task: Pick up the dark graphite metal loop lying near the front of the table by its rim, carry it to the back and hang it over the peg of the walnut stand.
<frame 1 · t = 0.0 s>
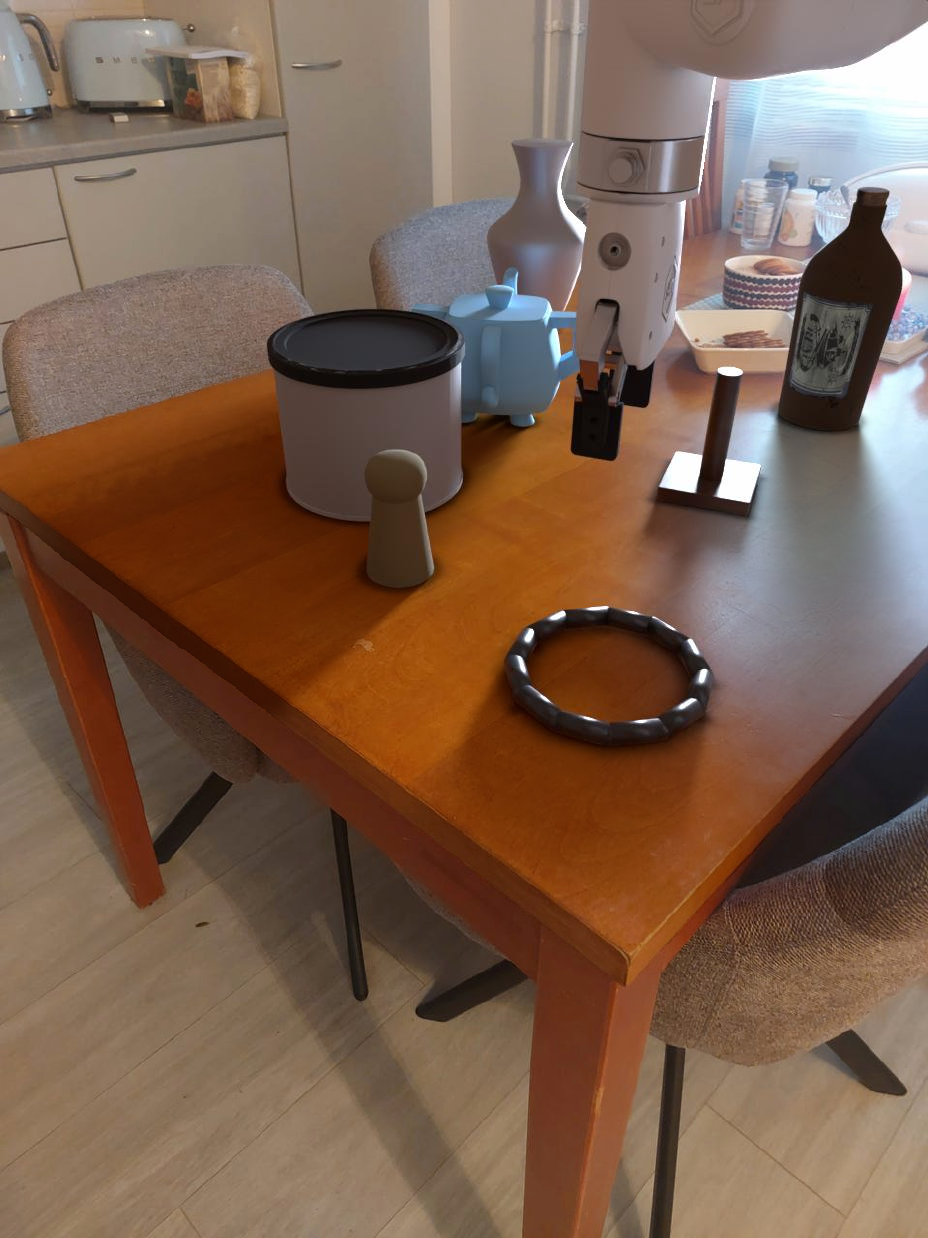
hand: (611, 428, 64), 17 cm above the table, tool pointing down, fingers open, 9 cm apart
container: (375, 480, 94), on the table
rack: (708, 488, 92), on the table
olive oil: (816, 417, 108), on the table
vase: (533, 330, 134), on the table
ring: (607, 670, 67), point 1 cm above the table
wooden peg doll: (400, 570, 80), on the table
teapot: (498, 404, 111), on the table
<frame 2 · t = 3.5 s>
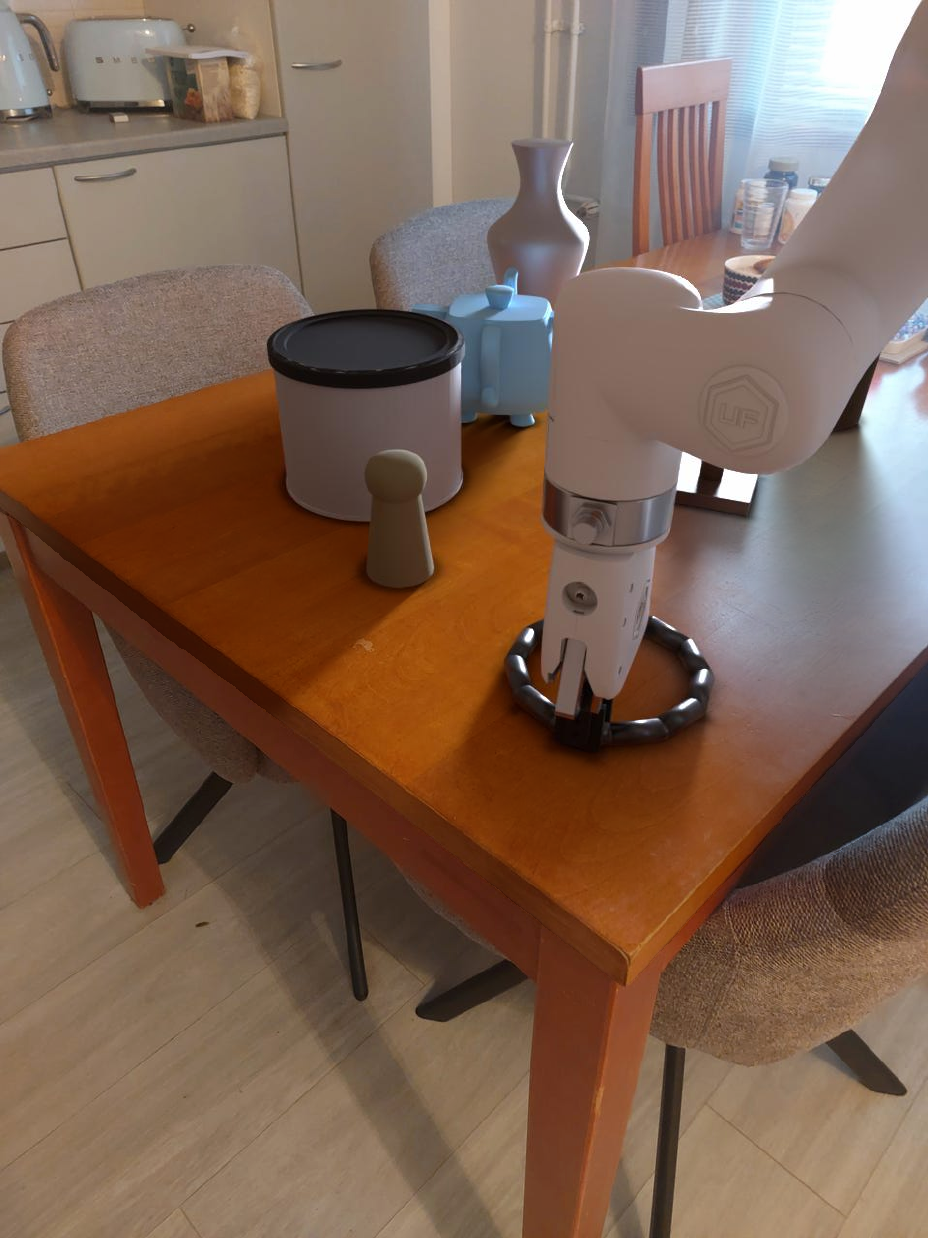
hand: (582, 732, 62), 0 cm above the table, tool pointing down, fingers closed on ring, 1 cm apart
ring: (607, 670, 67), point 1 cm above the table, touching gripper
everything else where it was.
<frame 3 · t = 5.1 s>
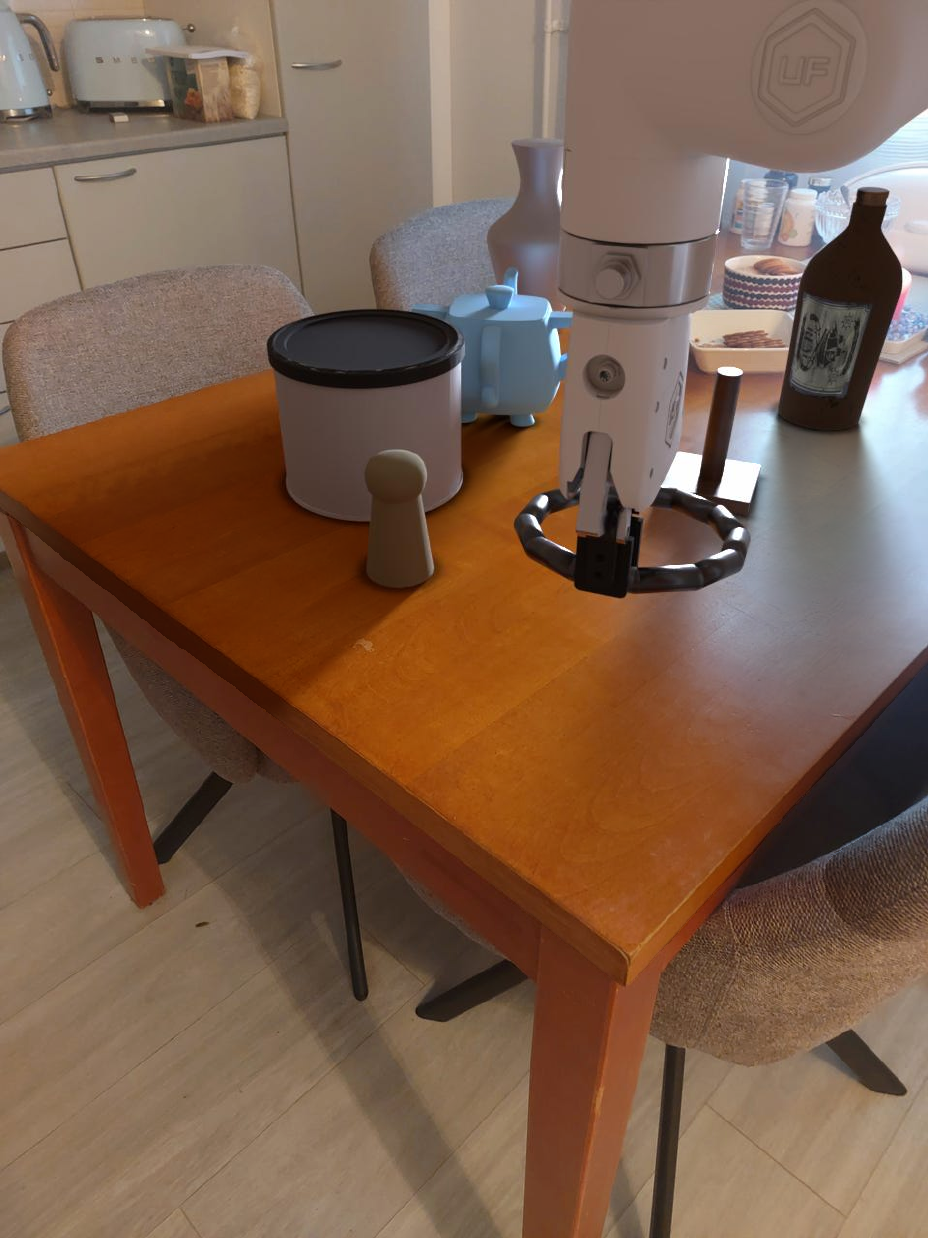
hand: (605, 580, 54), 13 cm above the table, tool pointing down, fingers closed on ring, 1 cm apart
ring: (630, 531, 60), point 13 cm above the table, tilted 5°, touching gripper
everything else where it was.
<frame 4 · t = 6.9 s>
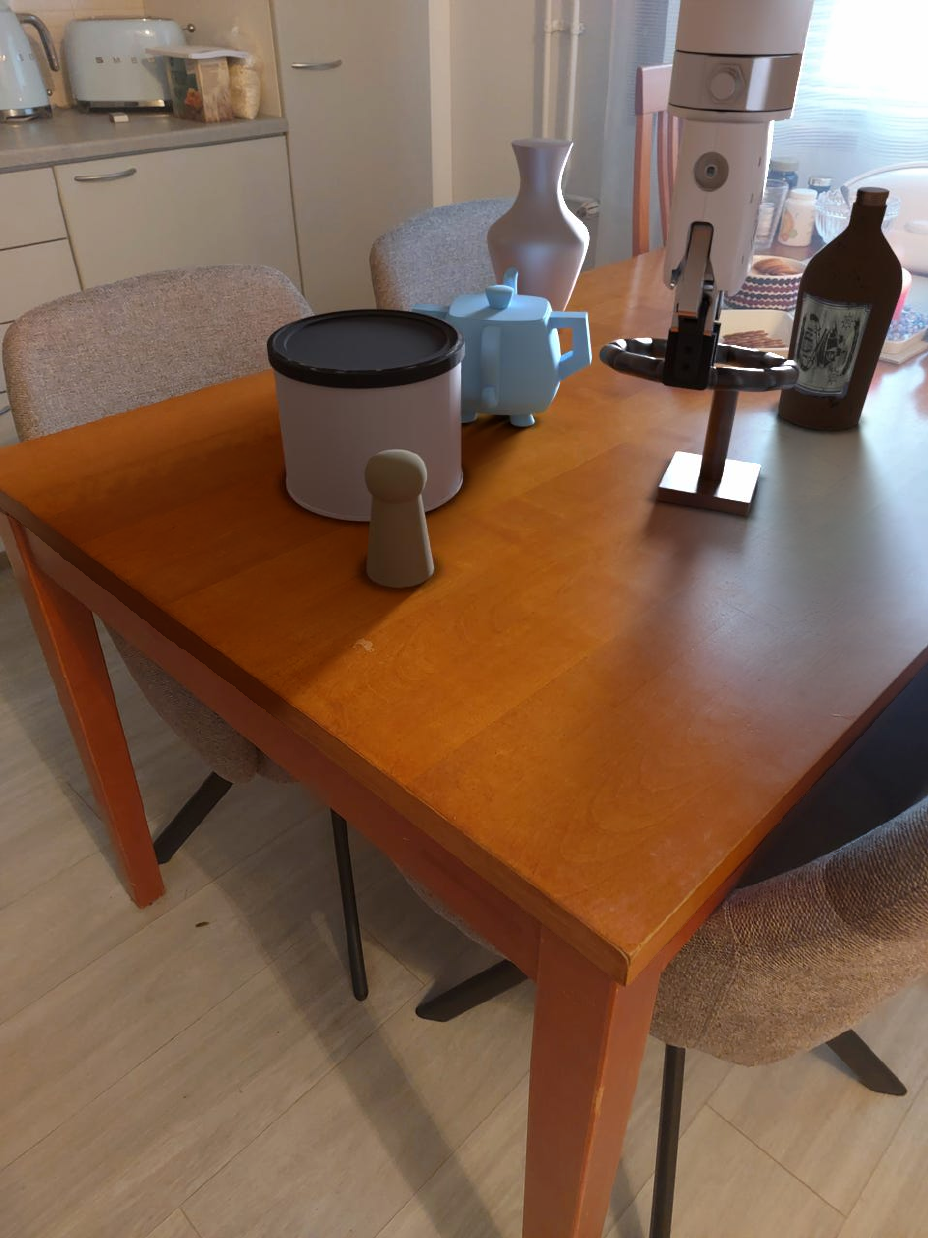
hand: (687, 379, 65), 19 cm above the table, tool pointing down, fingers closed on ring, 1 cm apart
ring: (698, 362, 70), point 18 cm above the table, tilted 11°, touching gripper
everything else where it was.
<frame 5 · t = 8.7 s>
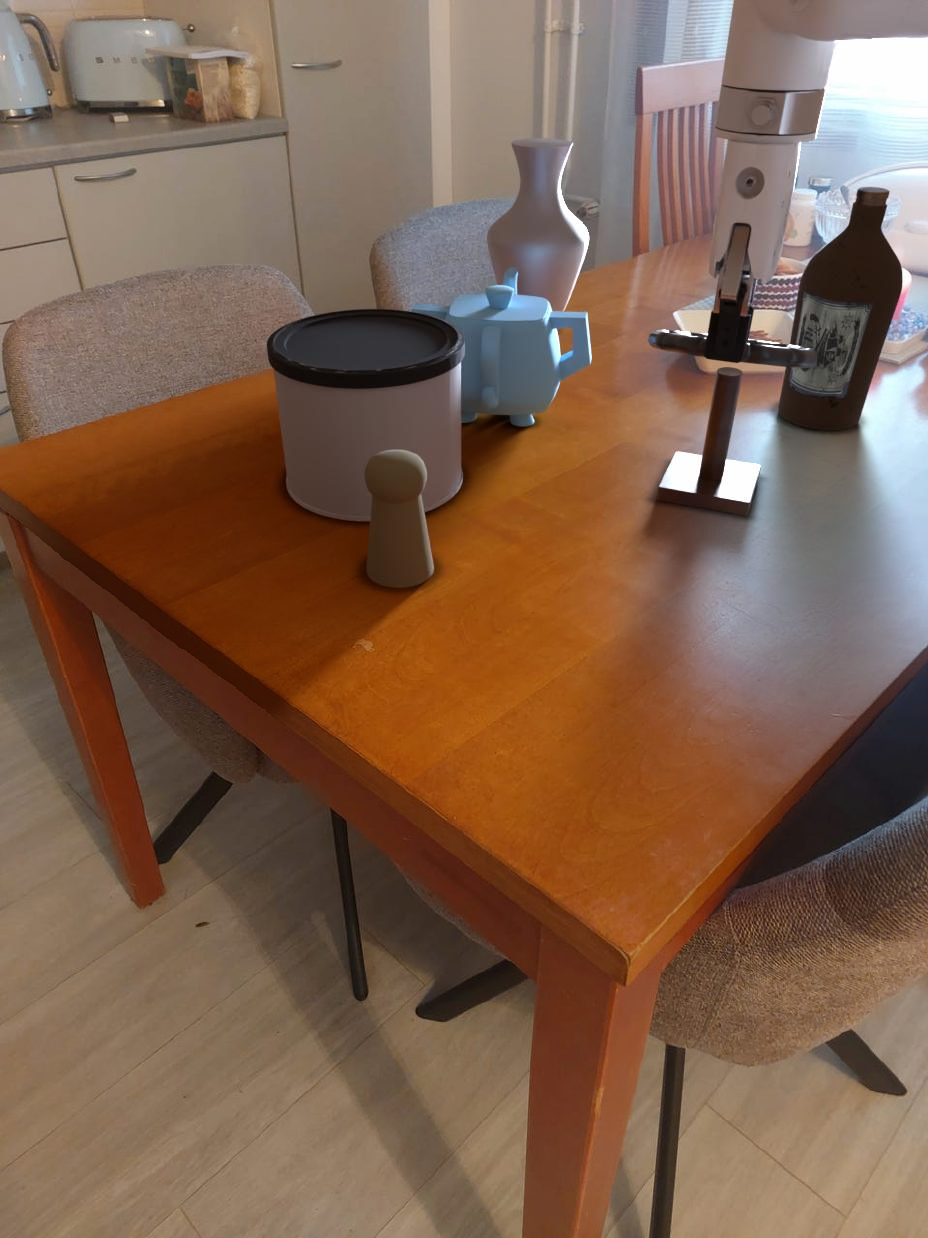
hand: (725, 354, 78), 16 cm above the table, tool pointing down, fingers closed on ring, 1 cm apart
ring: (732, 348, 83), point 15 cm above the table, tilted 16°, touching gripper
everything else where it was.
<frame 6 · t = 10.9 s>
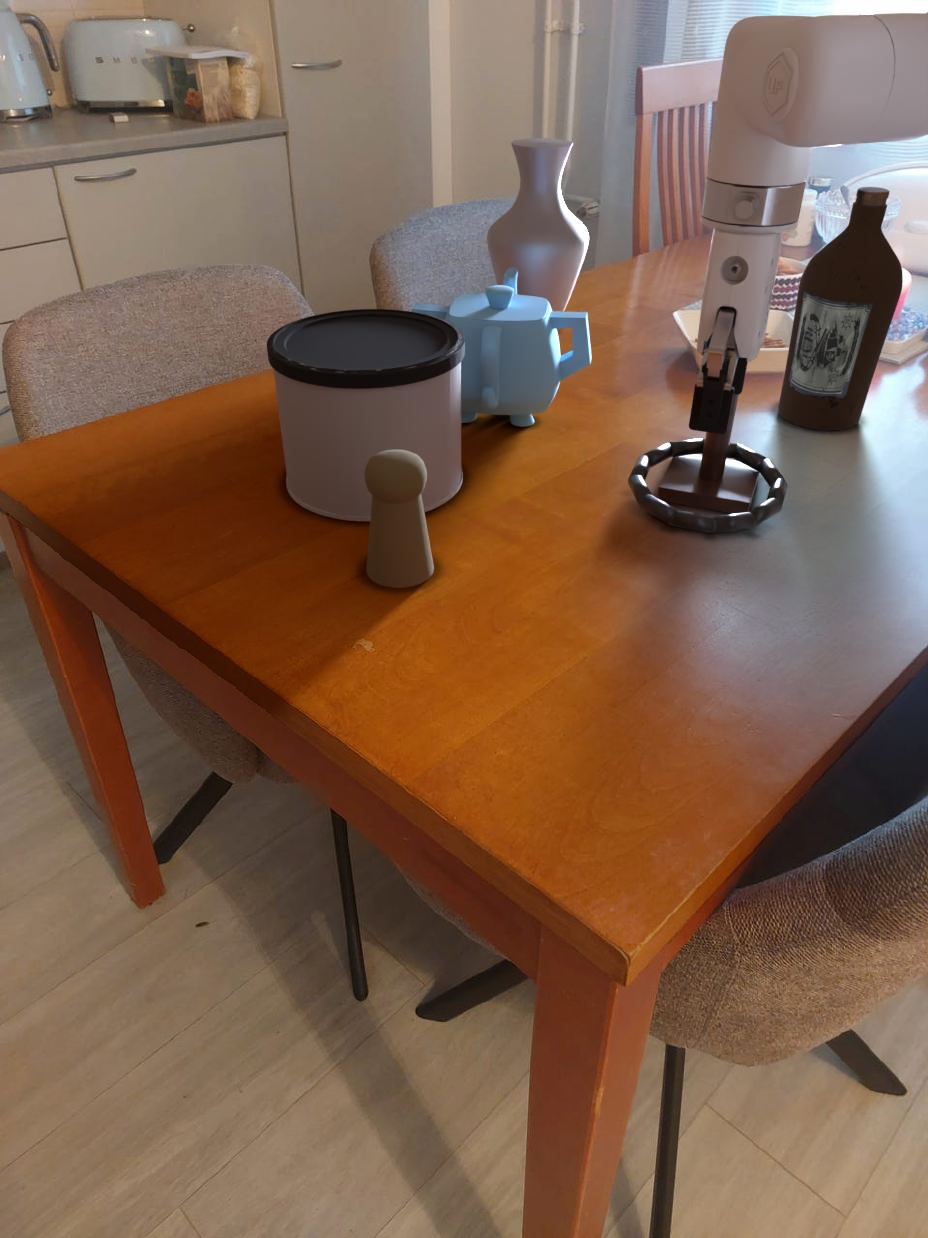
hand: (716, 410, 80), 11 cm above the table, tool pointing down, fingers open, 9 cm apart
ring: (706, 483, 90), point 2 cm above the table, tilted 7°, touching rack
everything else where it was.
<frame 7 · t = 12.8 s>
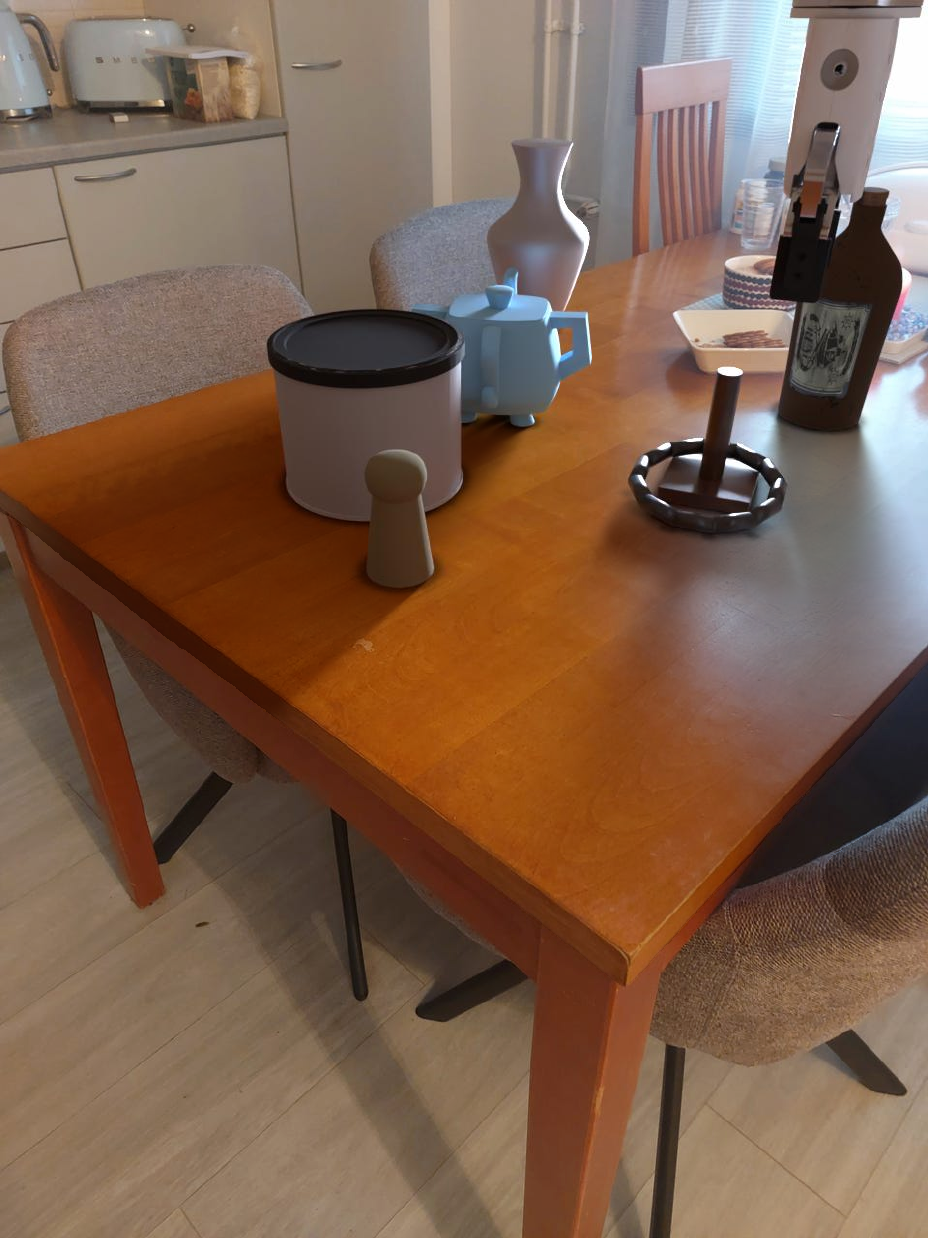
hand: (800, 282, 64), 25 cm above the table, tool pointing down, fingers open, 9 cm apart
nothing on the table moved.
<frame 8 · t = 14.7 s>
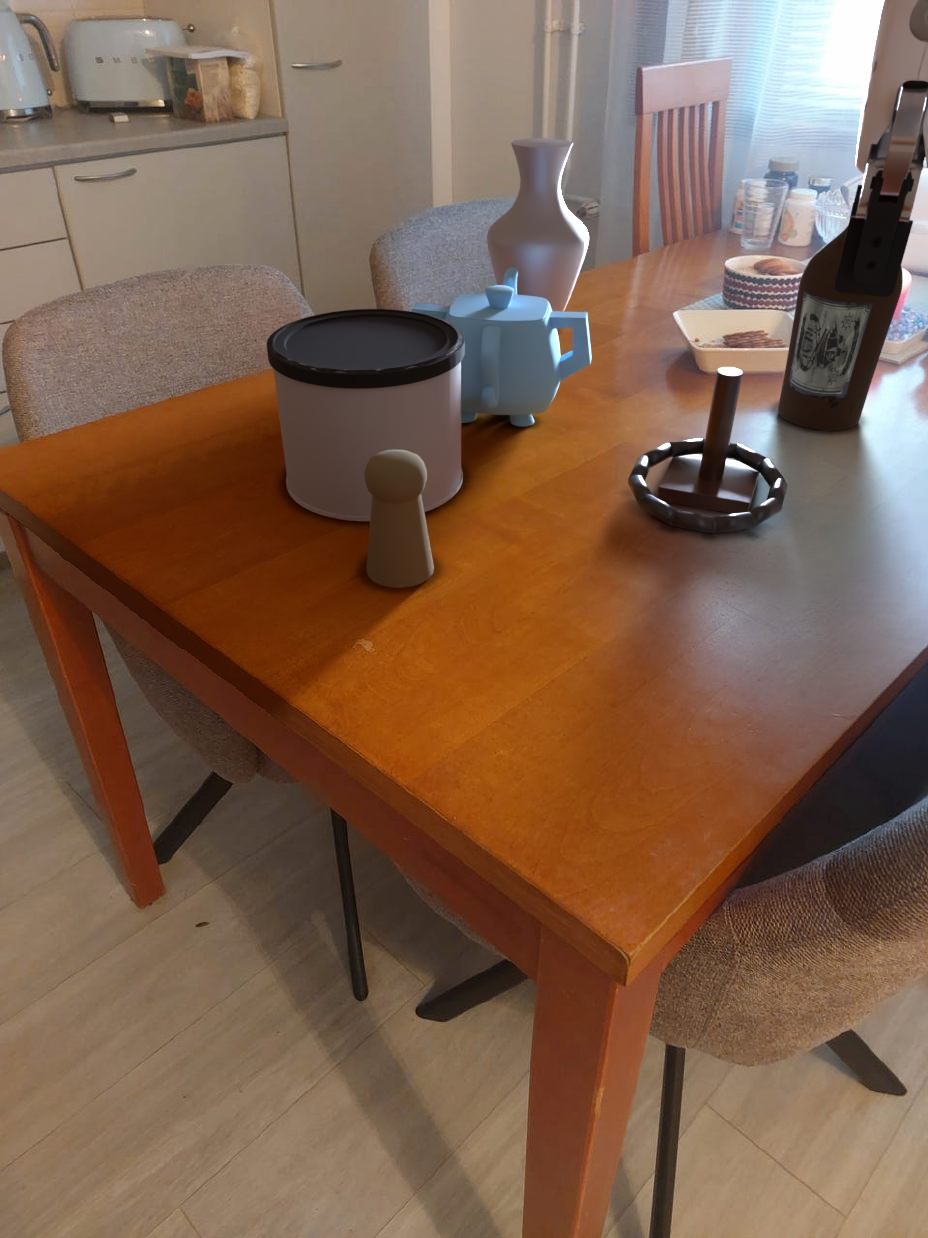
hand: (865, 271, 55), 28 cm above the table, tool pointing down, fingers open, 9 cm apart
nothing on the table moved.
at the end: ring 2.2 cm from the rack (horizontally); ring point 1.6 cm above the table; the gripper is holding nothing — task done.
